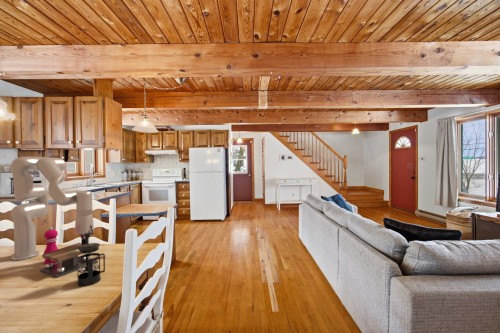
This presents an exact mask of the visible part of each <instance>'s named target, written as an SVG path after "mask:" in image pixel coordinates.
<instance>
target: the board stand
mask: <svg viewBox="0 0 500 333" xmlns="http://www.w3.org/2000/svg"><path fill="white" fill-rule="evenodd" d="M78 257H79V255H78V256H75V257H72V258H70V259H67V260H64V261H61V262H57V263H54V264H53V263H48V264H45V267H44V268H40V269H39V272H40V273H42V274H45V275H49V276H51V277H53V278H57V279H58V278H61V277H63V276H66V275H68V274H72V273H74V272H76V271H77V258H78ZM79 260H86V259H85V257H84V258H81V259H79ZM93 264H99V259H98V260H95V261H93ZM84 266H86V263H79V262H78V270H79V269H80V268H81V267H84ZM77 272H78V271H77Z"/></svg>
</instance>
